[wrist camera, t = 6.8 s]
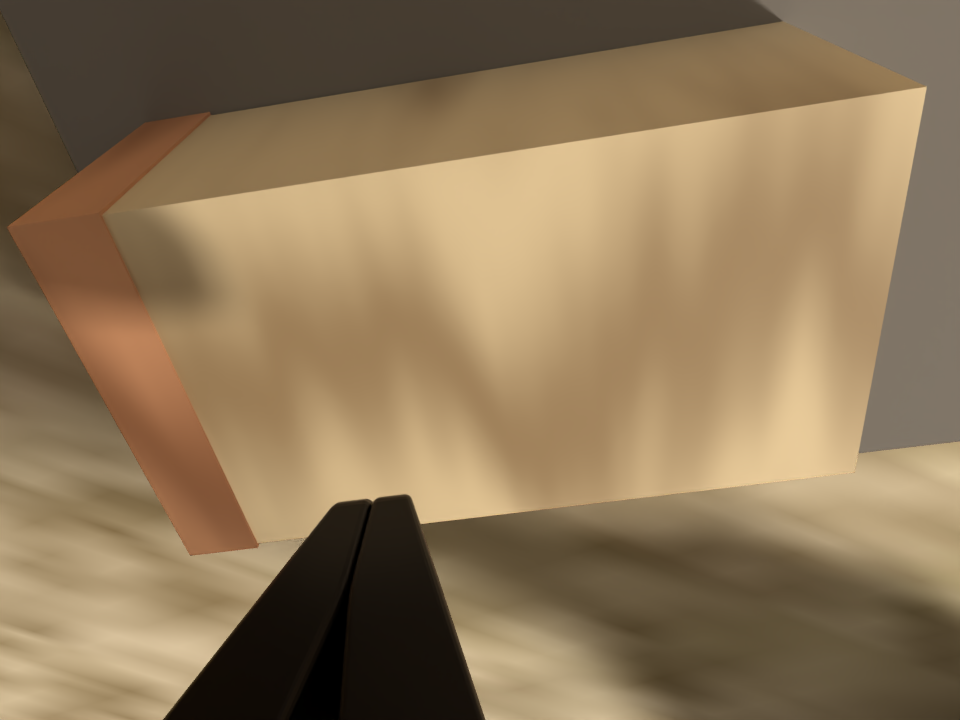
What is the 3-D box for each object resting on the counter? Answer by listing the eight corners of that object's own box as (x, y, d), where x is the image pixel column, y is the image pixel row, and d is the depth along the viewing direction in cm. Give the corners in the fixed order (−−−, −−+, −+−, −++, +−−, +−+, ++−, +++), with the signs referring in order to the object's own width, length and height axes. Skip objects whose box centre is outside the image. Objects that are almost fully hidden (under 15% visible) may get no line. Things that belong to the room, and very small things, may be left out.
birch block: (855, 476, 11) (189, 555, 12) (759, 327, 15) (255, 395, 16) (930, 82, 8) (5, 227, 9) (781, 17, 12) (144, 122, 13)
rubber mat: (962, 423, 18) (976, 439, 17) (251, 508, 19) (245, 524, 18) (1187, -368, 10) (1226, -380, 9) (-42, -127, 11) (-66, -127, 11)
